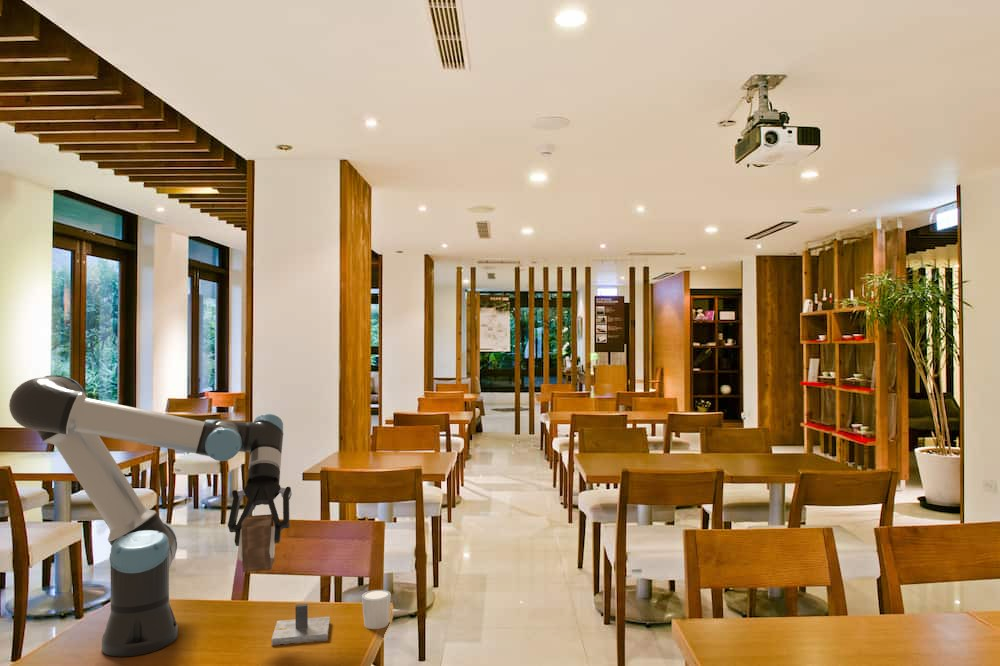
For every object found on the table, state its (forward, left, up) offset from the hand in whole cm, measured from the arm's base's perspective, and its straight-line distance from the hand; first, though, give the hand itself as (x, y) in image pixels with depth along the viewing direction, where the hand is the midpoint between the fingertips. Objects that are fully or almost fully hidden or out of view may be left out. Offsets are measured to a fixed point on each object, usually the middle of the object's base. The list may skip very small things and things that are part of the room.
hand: (256, 556), depth 154 cm
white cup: (+20, +18, -19) cm, 33 cm away
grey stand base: (+7, +7, -19) cm, 21 cm away
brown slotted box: (-2, +3, -3) cm, 5 cm away
